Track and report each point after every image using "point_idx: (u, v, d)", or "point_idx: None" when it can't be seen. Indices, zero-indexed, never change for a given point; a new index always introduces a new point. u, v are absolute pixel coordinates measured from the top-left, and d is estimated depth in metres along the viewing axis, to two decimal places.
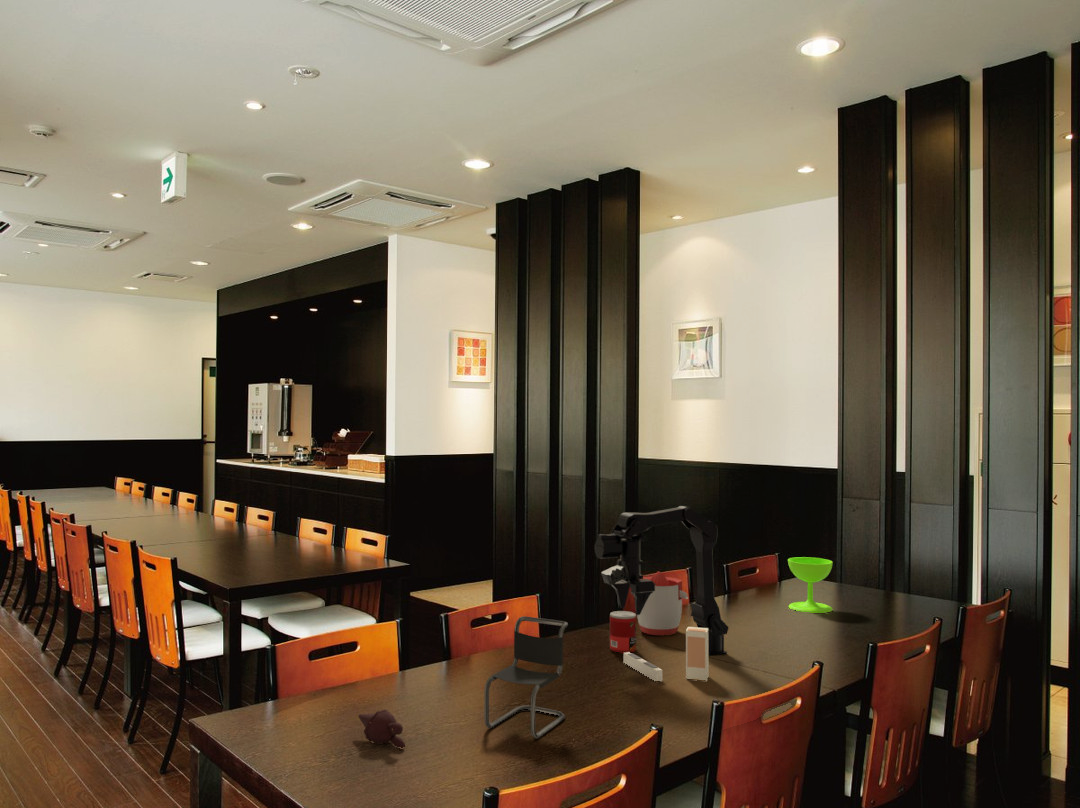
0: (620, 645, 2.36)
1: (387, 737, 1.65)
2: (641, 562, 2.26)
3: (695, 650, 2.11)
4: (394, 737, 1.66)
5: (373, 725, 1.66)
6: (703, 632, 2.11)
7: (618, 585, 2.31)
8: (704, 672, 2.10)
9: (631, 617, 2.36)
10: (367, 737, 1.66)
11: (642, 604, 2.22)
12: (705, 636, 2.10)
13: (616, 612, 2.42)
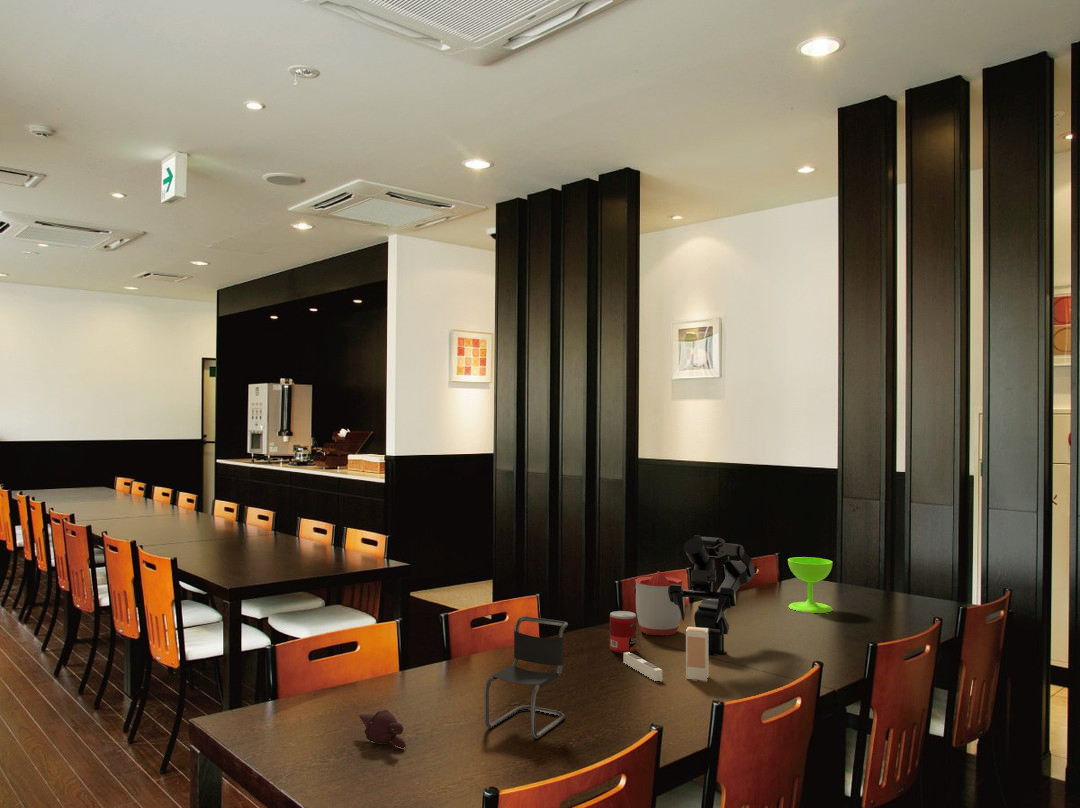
0: (620, 645, 2.36)
1: (388, 737, 1.65)
2: None
3: (695, 650, 2.11)
4: (395, 737, 1.65)
5: (374, 725, 1.66)
6: (703, 632, 2.11)
7: None
8: (704, 672, 2.10)
9: (631, 617, 2.36)
10: (368, 737, 1.66)
11: (720, 614, 2.22)
12: (705, 636, 2.10)
13: (616, 612, 2.42)
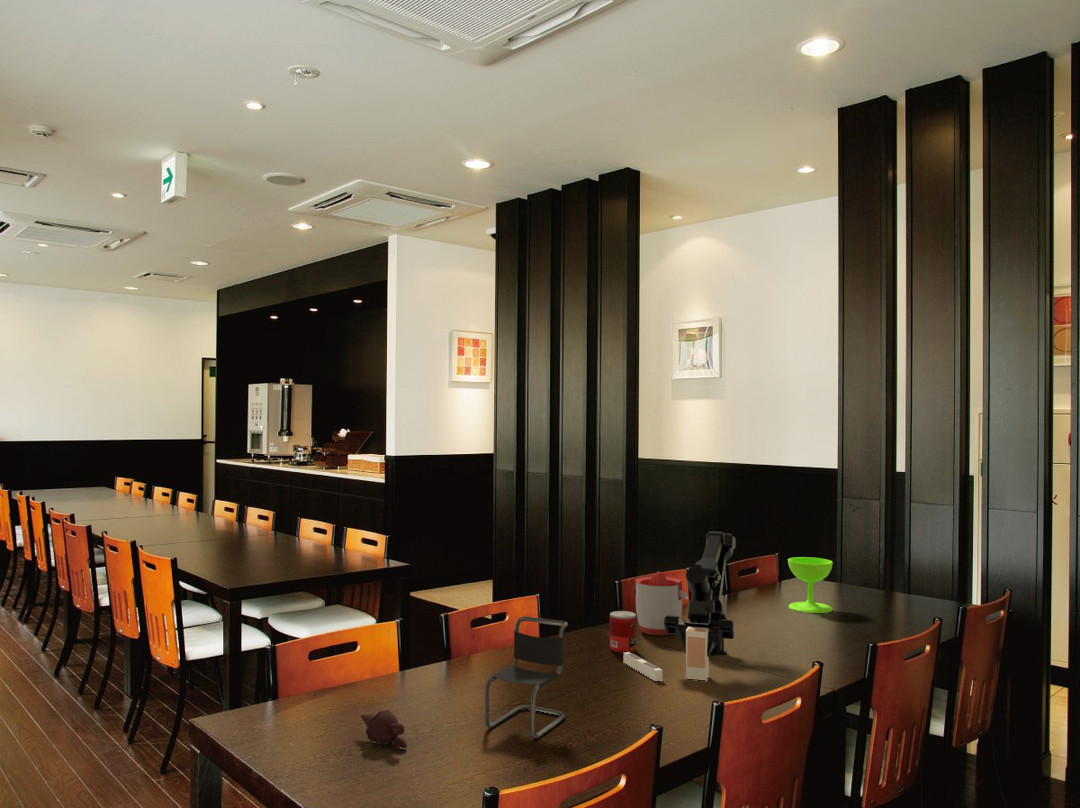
0: (620, 645, 2.36)
1: (389, 737, 1.65)
2: None
3: (695, 650, 2.11)
4: (396, 737, 1.65)
5: (375, 725, 1.66)
6: (703, 632, 2.11)
7: (685, 629, 2.17)
8: (704, 672, 2.10)
9: (631, 617, 2.36)
10: (369, 737, 1.66)
11: (712, 647, 2.13)
12: (705, 636, 2.10)
13: (616, 612, 2.42)
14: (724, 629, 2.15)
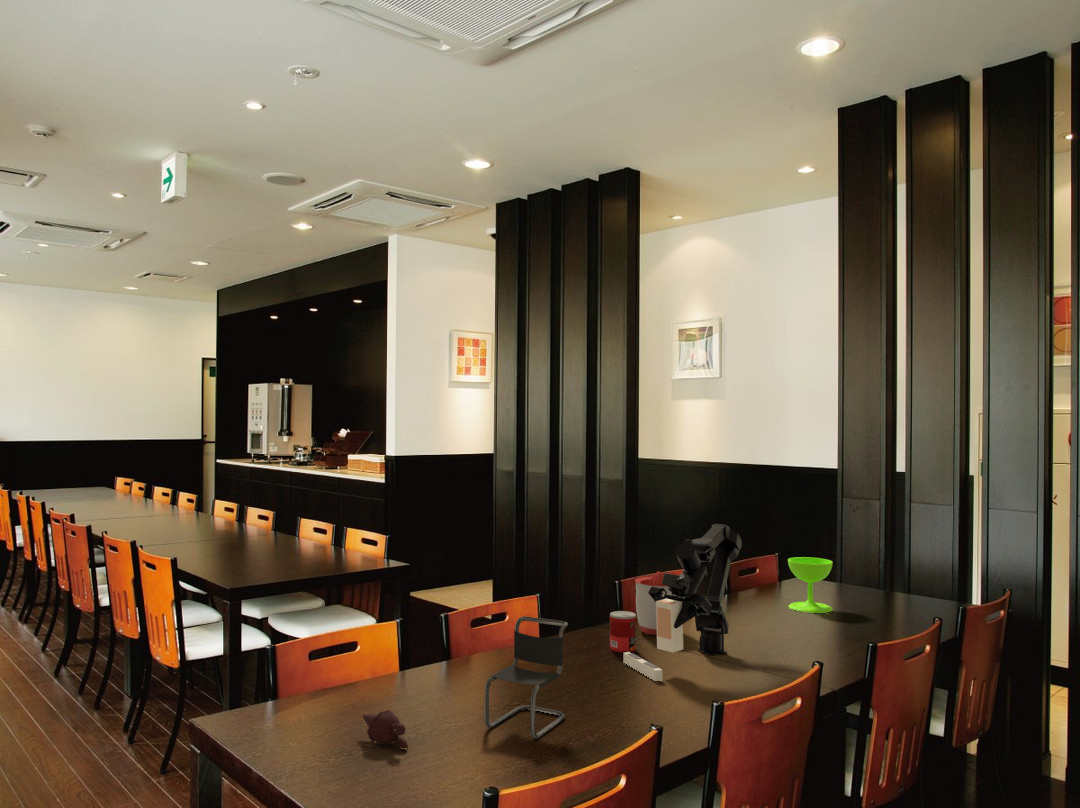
0: (620, 645, 2.36)
1: (390, 738, 1.64)
2: (698, 589, 2.22)
3: (663, 621, 2.16)
4: (397, 738, 1.65)
5: (376, 725, 1.66)
6: (669, 604, 2.14)
7: None
8: (670, 643, 2.14)
9: (631, 617, 2.36)
10: (370, 737, 1.66)
11: (683, 620, 2.15)
12: (670, 608, 2.14)
13: (616, 612, 2.42)
14: (698, 604, 2.15)
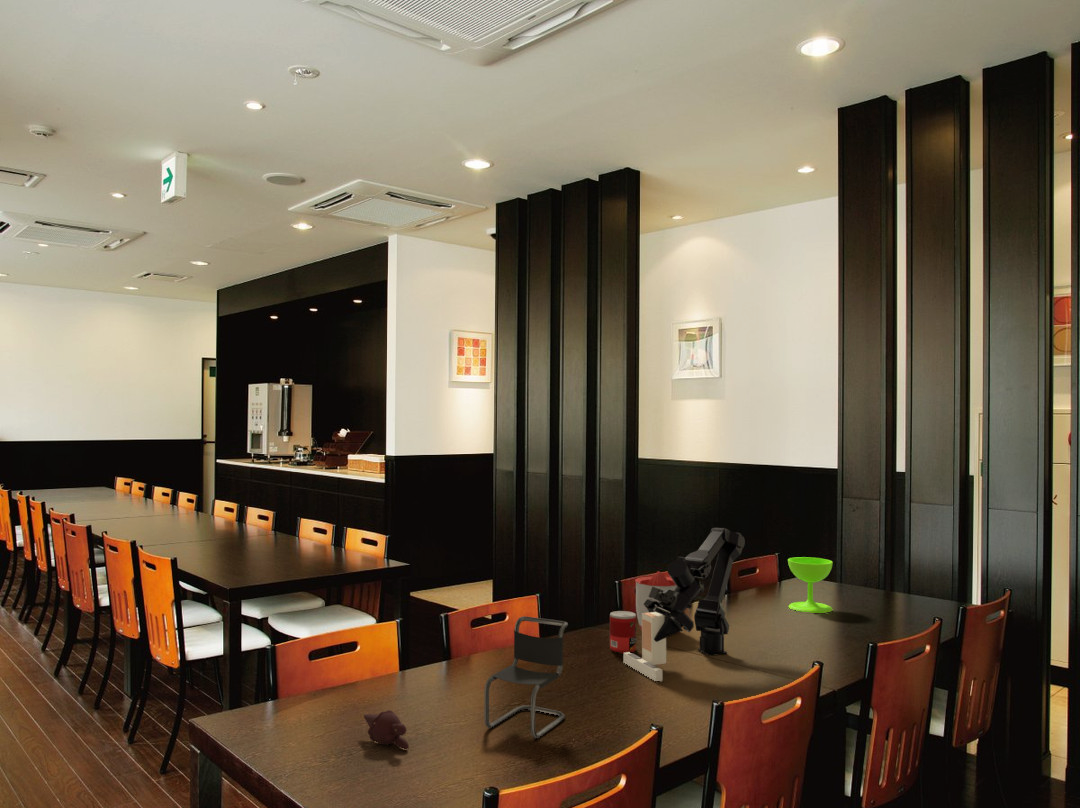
0: (620, 645, 2.36)
1: (391, 738, 1.64)
2: (690, 605, 2.23)
3: (646, 634, 2.20)
4: (398, 738, 1.65)
5: (377, 725, 1.65)
6: (650, 617, 2.18)
7: None
8: (650, 655, 2.18)
9: (631, 617, 2.36)
10: (371, 737, 1.66)
11: (665, 634, 2.18)
12: (651, 621, 2.18)
13: (616, 612, 2.42)
14: (679, 620, 2.16)
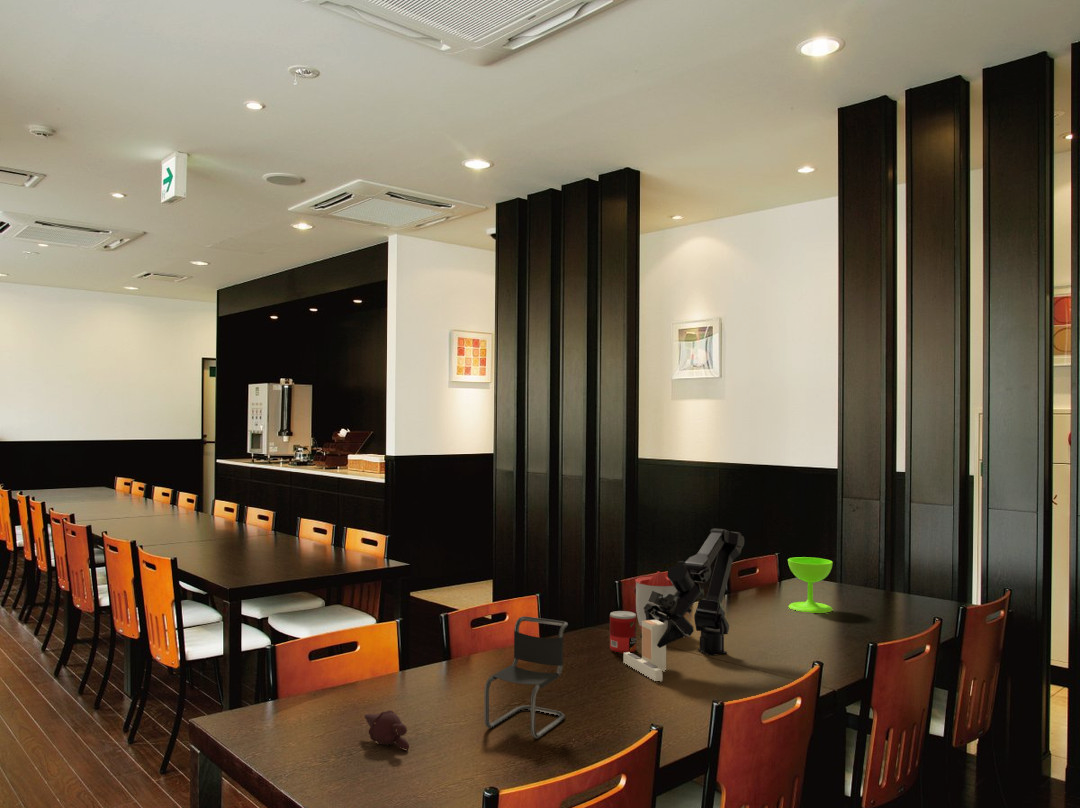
0: (620, 645, 2.36)
1: (391, 738, 1.64)
2: (689, 610, 2.23)
3: (646, 641, 2.20)
4: (398, 738, 1.65)
5: (377, 725, 1.65)
6: (650, 625, 2.18)
7: (652, 617, 2.26)
8: None
9: (631, 617, 2.36)
10: (372, 737, 1.66)
11: (668, 640, 2.16)
12: (651, 629, 2.18)
13: (616, 612, 2.42)
14: None
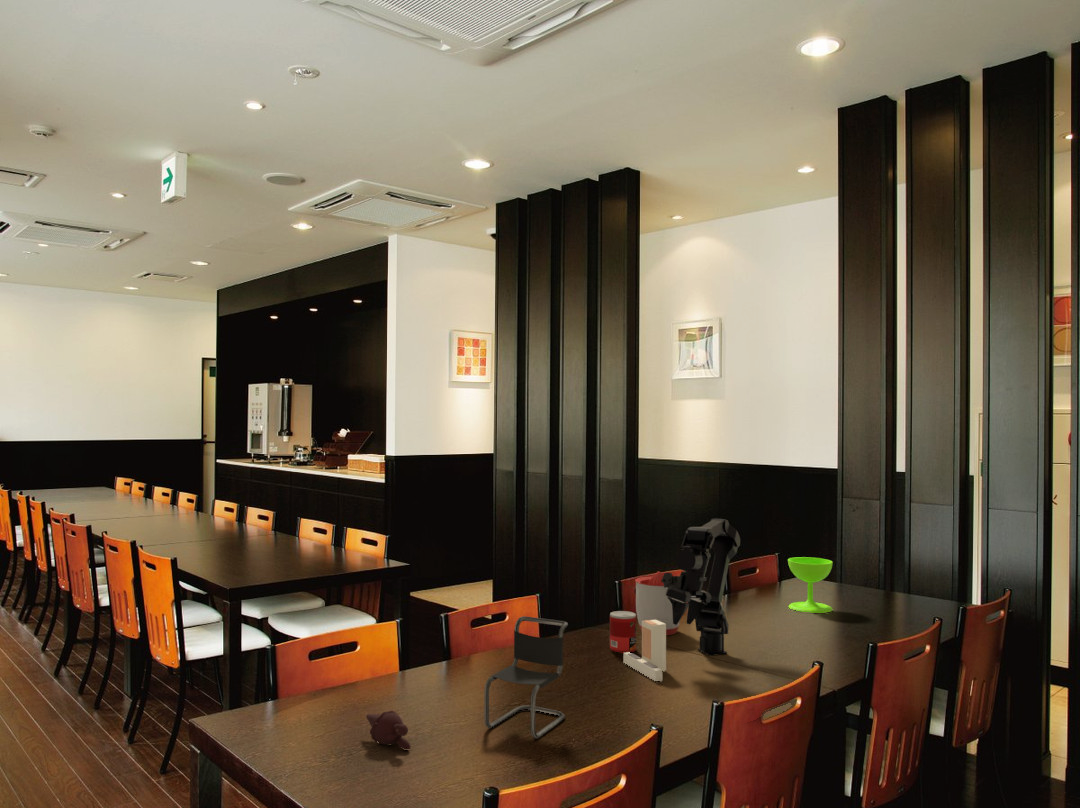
0: (620, 645, 2.36)
1: (392, 738, 1.64)
2: (698, 578, 2.24)
3: (646, 641, 2.20)
4: (400, 738, 1.65)
5: (379, 726, 1.65)
6: (650, 625, 2.18)
7: (691, 600, 2.31)
8: None
9: (631, 617, 2.36)
10: (373, 738, 1.66)
11: (678, 615, 2.22)
12: (651, 629, 2.18)
13: (616, 612, 2.42)
14: None
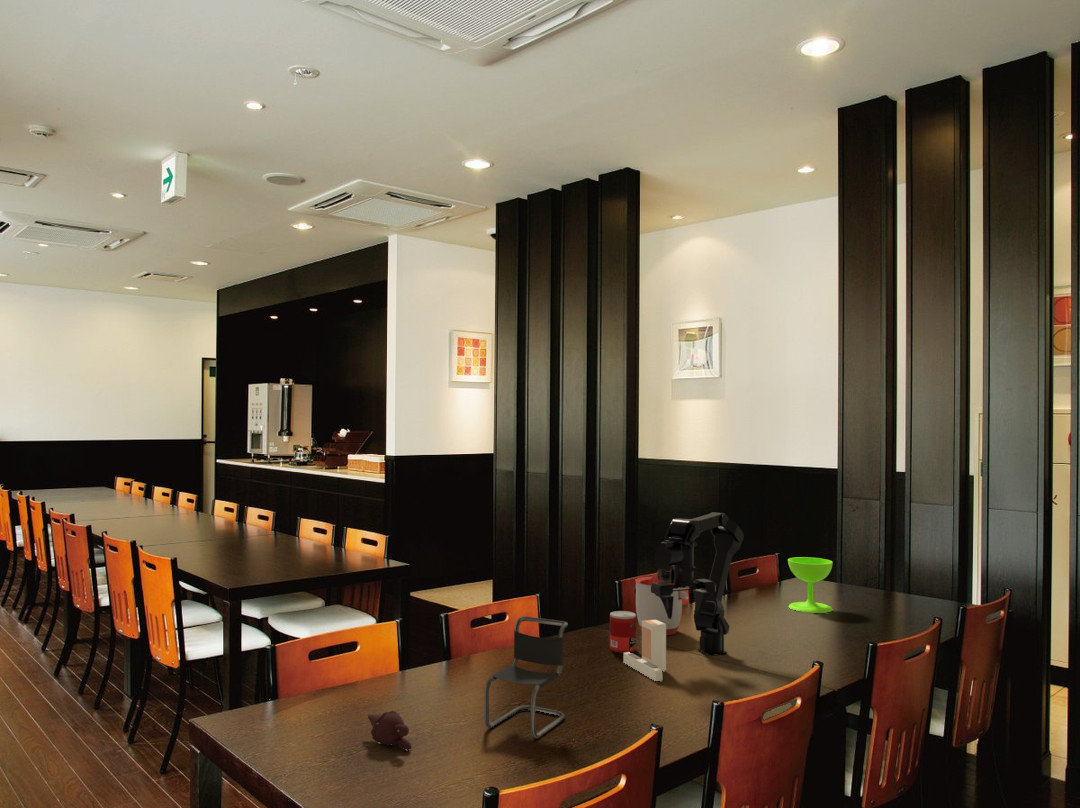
0: (620, 645, 2.36)
1: (393, 738, 1.64)
2: (680, 569, 2.24)
3: (646, 641, 2.20)
4: (401, 739, 1.65)
5: (380, 726, 1.65)
6: (650, 625, 2.18)
7: (696, 592, 2.30)
8: None
9: (631, 617, 2.36)
10: (374, 738, 1.66)
11: (668, 609, 2.24)
12: (651, 629, 2.18)
13: (616, 612, 2.42)
14: None
